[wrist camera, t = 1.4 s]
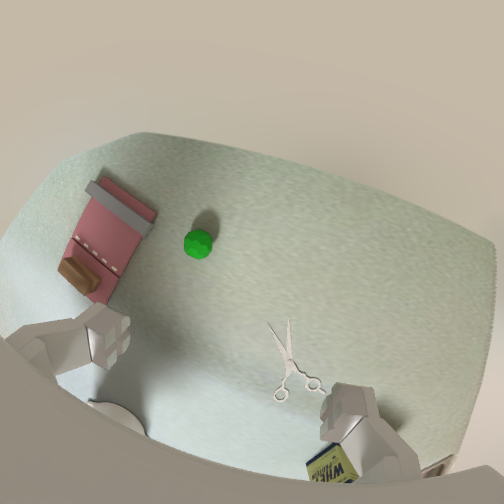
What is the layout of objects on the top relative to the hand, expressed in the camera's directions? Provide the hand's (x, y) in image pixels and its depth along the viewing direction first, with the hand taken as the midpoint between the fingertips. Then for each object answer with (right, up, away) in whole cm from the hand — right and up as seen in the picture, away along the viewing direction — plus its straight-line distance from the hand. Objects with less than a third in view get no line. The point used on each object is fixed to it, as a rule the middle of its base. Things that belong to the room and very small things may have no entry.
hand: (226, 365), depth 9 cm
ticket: (-26, +9, +38) cm, 47 cm away
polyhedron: (-8, +6, +39) cm, 40 cm away
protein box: (+24, -51, +43) cm, 71 cm away
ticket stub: (-33, 0, +39) cm, 51 cm away
